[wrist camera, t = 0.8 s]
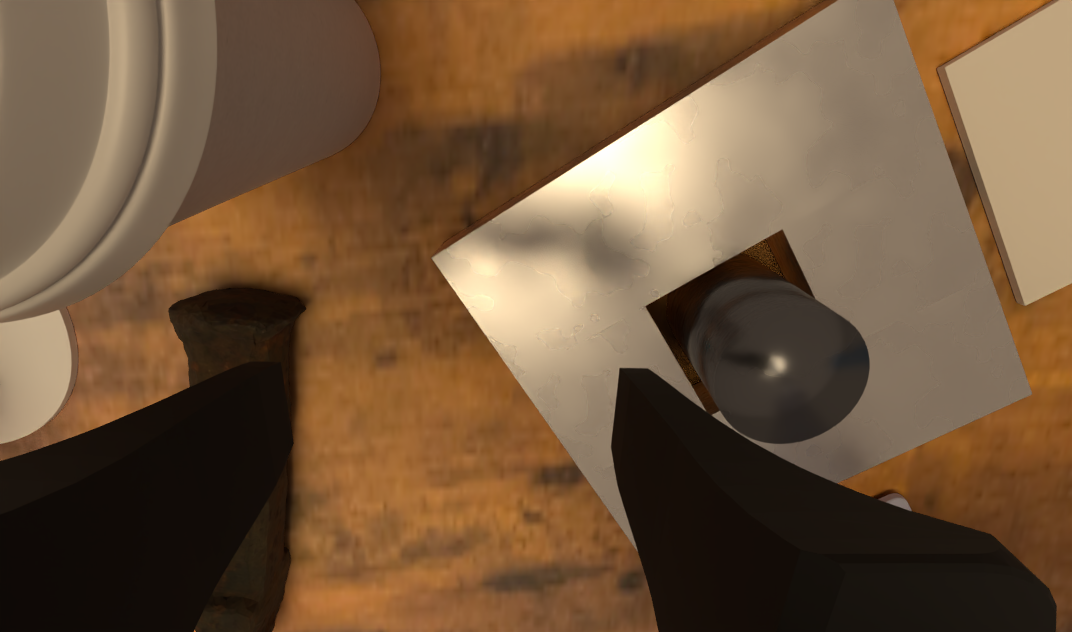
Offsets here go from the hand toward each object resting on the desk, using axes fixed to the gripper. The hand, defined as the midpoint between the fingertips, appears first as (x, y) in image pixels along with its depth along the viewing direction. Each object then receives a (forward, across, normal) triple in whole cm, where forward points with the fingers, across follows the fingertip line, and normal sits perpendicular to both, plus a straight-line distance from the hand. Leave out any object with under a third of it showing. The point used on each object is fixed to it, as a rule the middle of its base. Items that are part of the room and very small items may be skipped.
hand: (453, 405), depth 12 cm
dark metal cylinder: (+10, -10, +1) cm, 14 cm away
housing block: (+10, -10, +1) cm, 14 cm away
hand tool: (+11, +9, +11) cm, 18 cm away
